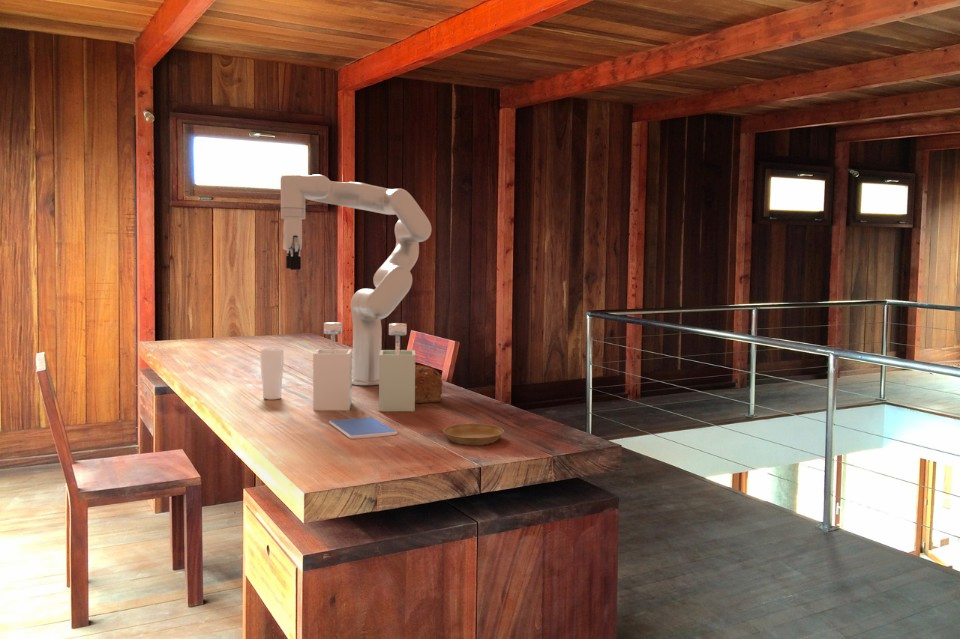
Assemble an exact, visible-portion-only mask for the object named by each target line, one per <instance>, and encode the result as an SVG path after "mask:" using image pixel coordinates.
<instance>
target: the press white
mask: <svg viewBox="0 0 960 639" xmlns="http://www.w3.org/2000/svg"><path fill="white" fill-rule="evenodd" d="M312 370H313V372H312V373H313V374H312V376H313V377H312V380H313V382H312V385H313V386H312V387H313V388H312V389H313V390H312V391H313V392H312V393H313V394H312V396H313V398H312V400H313V401H312V402H313V404H312V406H313V407H312V408H313V411H350V409H351V406H352V401H353V400H352V399H353V397H352V396H353V394H352V393H353V391H352V388H353V384H352V377H353V348H347V349H346V348H344V349H343V348H342V349H341V348H340V349H339V348H335V354H331V348H316V350H315V351H314V353H313V355H312Z"/></svg>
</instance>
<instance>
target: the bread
mask: <svg viewBox="0 0 960 639" xmlns="http://www.w3.org/2000/svg"><path fill="white" fill-rule="evenodd" d="M442 377H443V376H442V374H440V373H439V372H438V371H437V370H435V369H434V368H431V367H428V366H424V365H420V364H419V365H418V364H415V404H425V403H426V404H427V403H439V402H440V401H441V399H442V394H443V384H444V383H443V380H442Z"/></svg>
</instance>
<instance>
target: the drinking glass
mask: <svg viewBox="0 0 960 639" xmlns="http://www.w3.org/2000/svg"><path fill="white" fill-rule="evenodd" d="M284 355H285V354H284V348H282V347H263V348H261V349H260V354H259V356H260V357H259V359H260V360H259V361H260V371H261V384H262V397H263V399H264V400H267V401H269V400H271V401H272V400H273V401H274V400H279V399H281V398H282V387H283V376H284V374H283V372H284V363H285V362H284V358H285V357H284Z"/></svg>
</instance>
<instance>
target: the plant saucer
mask: <svg viewBox="0 0 960 639" xmlns="http://www.w3.org/2000/svg"><path fill="white" fill-rule="evenodd" d="M504 432H505V430H504V429H503V428H502V427H499V426H497V425H491V424H487V423H460V424H454V425H450V426H447V427H445V428H443V433H444V434H445V436H446V437H447V438H448V439H449V440H451V442H453V443H455V444H458V445H463V444H465V445H464V446H484V444H486V445H491V444H493V443H495V442H496V441H498V440H499V439H500V438H501V436H502V435H503V434H504ZM490 443H491V444H490Z"/></svg>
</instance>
